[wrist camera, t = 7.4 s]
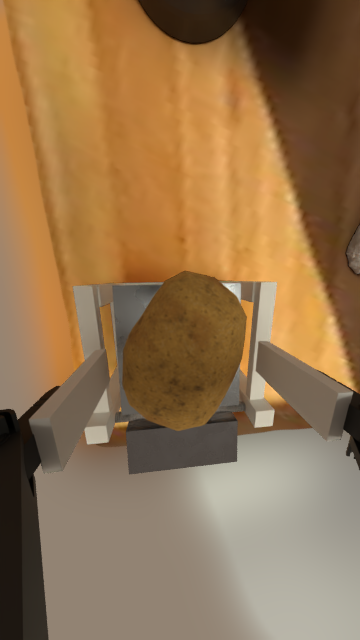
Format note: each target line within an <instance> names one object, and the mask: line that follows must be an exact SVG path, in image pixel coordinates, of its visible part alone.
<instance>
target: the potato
mask: <svg viewBox="0 0 360 640" xmlns="http://www.w3.org/2000/svg"><path fill="white" fill-rule="evenodd" d="M246 319H247V317H246V314H245V312H244V310H243V308H242V306H241V304H240V302H239V299H238V297H237V296H236V295H235V294H234V293H233V292H231V291H230V290H229V289H228V288H227V287H225V286H224V285H223V284H222V283H221V282H219V281H218V280H217V279H216V278H215V277H210V276H206V275H202V274H197V273H193V272H189V271H183V272H181V273H180V274H178V275H176V276H174V277H172V278H170V279H168V280H166V281H165V282H164V283H163V284H162V286H161V287H160V288H159V290H158V291H157V293H156V294H155V295H154V297H153V298H152V300H151V301H150V303H149V304H148V306H147V308H146V309H145V311H144V312H143V314H142V316H141V317H140V319H139V320H138V322H137V323H136V324H135V326H134V327H133V328H132V330H131V332H130V333H129V336H128V339H127V341H126V344H125V346H124V349H123V376H122V386H123V389H124V391H125V394H126V397H127V400H128V402H129V405H130V406H131V407H133V408H134V409H135V410H136V411H137V412H138V413H140V414H141V415H142V416H143V417H144V418H145V419H147V420H148V421H150V422H153V423H156V424H159V425H162V426H165V427H168V428H170V429H173V430H176V431H181V430H185V429H189V428H193V427H198V426H202V425H205V424H206V423H207V422H208V420H209V419H210V418H211V417H212V415H213V414H214V413H215V412H216V411H217V409H218V407H219V405H220V404H221V402H222V400H223V398H224V397H225V395H226V393H227V391H228V389H229V387H230V385H231V383H232V381H233V379H234V377H235V375H236V372H237V370H238V367H239V364H240V362H241V359H242V354H243V347H244V340H245V331H246Z"/></svg>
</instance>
